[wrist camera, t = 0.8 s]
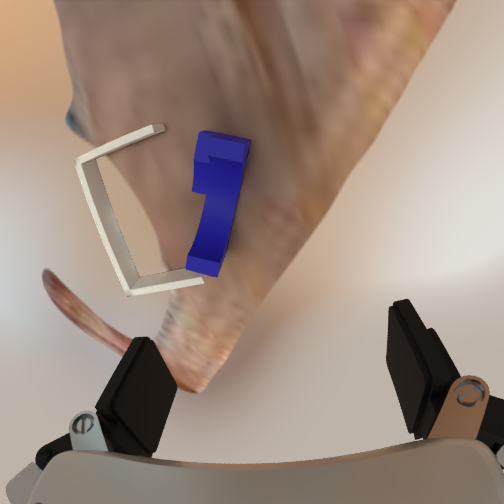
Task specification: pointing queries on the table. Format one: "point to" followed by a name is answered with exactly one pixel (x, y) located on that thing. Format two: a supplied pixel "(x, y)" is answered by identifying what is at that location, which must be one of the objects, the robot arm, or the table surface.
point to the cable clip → (216, 197)
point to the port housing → (111, 229)
